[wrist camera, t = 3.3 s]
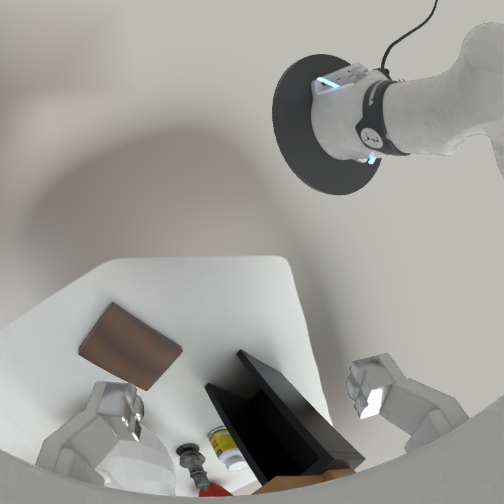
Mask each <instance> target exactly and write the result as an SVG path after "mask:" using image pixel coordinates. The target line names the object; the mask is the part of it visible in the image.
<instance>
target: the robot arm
mask: <svg viewBox="0 0 504 504" xmlns="http://www.w3.org/2000/svg"><path fill="white" fill-rule="evenodd" d="M437 1H438V0H436V2H435V5H434V8H433V10H432V12H431V14H430V15H429V17H428V18H427V19H426V20H425V21H424V22H423V23H422V24H420V25H419V26H418V27H416V28H414V29H413V30H411V31H410V32H408V33H407V34H405V35H404V36H402V37H401V38H399V39H398V40H396V41H395V42H393V43H392V44H391V45H390V46H389V47H388V49H387V50H386V52H385V54H384V57H383V59H382V63H381V68H378V69H373V70H372V71H368V70H367V69H366V68H365V67H364V66H363V65H362V64H360V63H355V64H352V65H349V66H347V67H344V68H341V69H339V70H336V71H334V72H331V73H329V74H326V75H324V76H322V77H319V78H317V79H315V80H313V81H312V82H311V90H312V95H313V102H312V107H311V123H312V128H313V132H314V134H315V137H316V139H317V141H318V143H319V144H320V146H321V147H322V148H323V150H324V151H325V152H326V153H327V154H329V155H330V156H332V157H333V158H336V159H339V160H349V159H352V160H355V161H357V162H359V163H364V162H366V161H367V160H368V159H370V160H369V162H368V163H369V164H373V162H374V161H375V159H376V158H387V157H390V156H391V155H394V156H403V155H404V156H407V155H410V154H411V153H414V154H425V155H436V156H450V155H453V154H454V153H456V152H457V151H458V149H459V148H460V147H461V145H462V144H463V141H464V139H465V137H468V136H472V135H486V136H488V137H490V139H491V143H492V146H493V150H494V153H495V157H496V161H497V165H498V168H499V170H500V172H501V174H502V176H503V178H504V24H502V23H494V22H493V23H492V22H491V23H484V24H481V25H479V26H477V27H475V28H473V29H472V30H471V31H470V32H469V33H468V34H467V36H466V37H465V39H464V41H463V44H462V47H461V52H460V55H459V57H458V59H457V61H456V63H455V64H454V65H453V66H452V67H451V68H450V69H448V70H447V71H445V72H443V73H442V74H439V75H437V76H433V77H429V78H424V79H417V80H411V81H404V79H403V82H401V81H400V80H399V82H397V81H392V80H391V78H390V76H389V70H388V69H384V64H385V61H386V58H387V56H388V54H389V52H390V49H391V48H392V47H393V46H394V45H395V44H397V43H398V42H400V41H401V40H402V39H404V38H405V37H407V36H408V35H410V34H411V33H413V32H414V31H416V30H417V29H419V28H420V27H422V26H423V25H424V24H425V23H426V22H427V21H428V20H429V19H430V18H431V16H432V15H433V13H434V11H435V8H436V5H437ZM322 84H323V85H322ZM350 371H351V373H350V375H349V376H348V377H347V381H346V386H347V392H348V395H349V397H350V398H351V399H353V400H354V401H356V402H355V405H354V407H355V409H356V411H357V413H358V416H359V418H360V419H361V418H365V417H368V416H372V415H375V414H378V413H379V414H380V415H381V416H382V417H384V418H385V419H387V420H389V421H390V422H391V423H393V424H394V425H396V426H397V427H399V428H400V429H402V430H403V431H405V432H406V433H408V434H409V435H411V438H410V439H409V441H408V442H407V443H406V445H405V450H406V452H407V454H404V455H402V456H400V457H398V458H395V459H393V460H390V461H388V462H386V463H383V464H380V465H378V466H375V467H372V468H369V469H367V470H364V471H361V472H358V473H355V474H351V475H348V476H345V477H341V478H338V479H334V480H331V481H327V482H323V483H319V484H314V485H310V486H305V487H300V488H295V489H290V490H284V491H277V492H270V493H262V494H253V495H243V496H225V497H183V496H167V495H156V494H147V493H139V492H132V491H126V490H120V489H115V488H110V487H105V486H104V483H105V479H104V478H103V477H102V476H101V475H100V474H99V473H98V472H96V471H95V469H96V468H97V467H98V465H99V464H100V463H101V462H102V461H103V460H104V459H105V457H106V456H107V455H108V454H109V453H110V452H111V451H112V449H113V448H114V447H115V446H116V445H117V444H118V443H119V440H124V441H136V442H139V440H140V434H141V429H142V428H141V427H140V425H139V423H140V422H141V421H142V420H143V417H144V405H143V401H142V399H141V397H140V396H138V395H137V394H136V391H137V389H136V387H135V385H134V384H131V383H118V382H105V381H97V382H96V383H95V385H94V387H93V390H92V393H91V395H90V398H89V400H88V403H87V406H86V409H85V411H81V412H80V413H78V414H77V415H76V416H75V417H73V418H72V419H71V420H69V421H68V422H67V423H66V424H64V425H63V426H62V427H61V428H59V429H58V430H57V431H55V432H54V433H53V434H51V435H50V436H49V437H48V438H46V439H45V440H44V441H43V444H42V447H41V450H40V453H39V455H38V458H37V461H36V464H35V465H34V464H31V463H29V462H26V461H24V460H22V459H20V458H17V457H15V456H13V455H11V454H9V453H7V452H5V451H3V450H1V449H0V504H504V395H503V396H501V397H500V398H499V399H497V400H496V401H495V402H493V403H492V404H491V405H489V406H488V407H487V408H485V409H484V410H482V411H481V412H479V413H478V414H476V415H475V416H474V417H472V418H471V419H470V418H469V417H468V415H467V414H466V413H465V411H464V410H463V408H462V407H461V406H460V404H459V403H458V402H457V400H456V399H455V398H453V397H451V396H449V395H446V394H444V393H442V392H440V391H437V390H435V389H433V388H430V387H428V386H426V385H424V384H421V383H419V382H417V381H415V380H413V379H410V378H409V379H406V377H405V376H404V374H403V373H402V372H401V370H400V369H399V367H398V366H397V365H396V363H395V362H394V360H393V359H392V358H391V356H390V355H389V354H388V353H384V354H381V355H377V356H373V357H369V358H365V359H361V360H357V361H354V362H352V363H351V365H350Z"/></svg>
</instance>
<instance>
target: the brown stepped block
mask: <svg viewBox="0 0 504 504" xmlns="http://www.w3.org/2000/svg"><path fill="white" fill-rule="evenodd" d="M355 473H356V472H355V471H354V470H353V469H352V468H348V469H335V470H327V471H326V472H324V473H323V474H322V475H311V476H276V477H275V478H273V479H272V480H271V481H269V482H268V483H267V484H265V485H264V486H262V487H261V488H260V489H258V490H257V491H255V492H254V493H252V494H251V495H253V494H262V493H270V492H277V491H284V490H290V489H295V488H300V487H305V486H310V485H314V484H319V483H323V482H327V481H331V480H334V479H338V478H341V477H345V476H348V475H351V474H355Z"/></svg>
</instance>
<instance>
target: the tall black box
mask: <svg viewBox="0 0 504 504" xmlns="http://www.w3.org/2000/svg"><path fill="white" fill-rule="evenodd" d="M237 356H238V357H239V359H240V360H241V361H242V363H243V364H244V365H245V367H246V368H247V369H248V371H249V372H250V373H251V375H252V376H253V377H254V379H255V380H256V381H257V383H258V384H259V385H260V386H261V388H262V389H261V390H260V391H259V392H258V393H257V394H256V395H255V396H254V397H253V398H252V399H251V400H250V401H248V400H246V399H243V398H241V397H239V396H236V395H234V394H231V393H229V392H227V391H224V390H222V389H220V388H218V387H216V386H213V385H211V384H209V383H208V384H207V385H206V386H205V389H206V391H207V393H208V395H209V397H210V399H211V401H212V403H213V405H214V407H215V409H216V410H217V412H218V414H219V416H220V418H221V420H222V421H223V423H224V425H225V427H226V428H227V430H228V432H229V434H230V435H231V437H232V439H233V441H234V442H235V444H236V446H237V447H238V449H239V451H240V452H241V454H242V455H243V457H244V459H245V460H246V462H247V463H248V465H249V467H250V468H251V470H252V471H253V473H254V474H255V476H256V477H257V479H258V480H259V482H260V483H261V485H262V486H264V485H265V484H267V483H268V482H269V481H271V480H272V479H273V478H275V477H276V476H311V475H322V474H323V473H324V472H326V471H327V470H335V469H348V468H352V469H353V470H354V469H355V468H357V467H358V466H359V465H360V464H361V463H362V462H363V461H364V460H365V458H364V457H363V456H362V455H361V454H360V453H359V452H358V451H357V450H356V449H355V448H353V446H352V445H351V444H349V443H348V442H347V441H346V440H345V439H344V438H343V437H342V436H341V435H340V434H339V433H338V432H337V431H336V430H335V429H334V428H333V427H332V426H331V425H330V424H329V423H328V422H327V421H326V420H325V419H324V418H323V417H322V416H321V415H320V414H319V413H318V412H317V411H316V410H315V409H314V408H313V406H312V405H311V404H310V403H309V402H308V401H307V400H306V399H305V398H304V397H303V396H302V395H301V394H300V393H299V392H298V391H297V390H296V389H295V388H294V386H293V385H292V384H291V383H290V382H289V381H288V380H287V379H286V378H285V377H284V376H283V375H282V373H280V372H278V371H276V370H275V369H273V368H271V367H269V366H268V365H266V364H264V363H263V362H261V361H259V360H257V359H256V358H254V357H252V356H251V355H249V354H247V353H246V352H244V351H243V350H241V349H240V350H239V351H238V353H237Z"/></svg>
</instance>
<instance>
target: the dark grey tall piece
mask: <svg viewBox="0 0 504 504" xmlns="http://www.w3.org/2000/svg"><path fill="white" fill-rule="evenodd" d="M198 450H199V447H198V446H197V445H196V444H185V445H182V446H180V447H179V448H178V449H177V451H176V452H177V454H178V455H180V466H182V467H184V468H188V469H189V471H190V474H191V475H190V477H191V478H193V480H194V482H195V484H196V486H197V487H198V488H199V489H204V491H207V489H206V488H208V487H209V486H210V482H209V480H208V478H207V476H206V474H207V472H206V471H204V469H203V467H202V464H203V463H204V462H205V457H204V456H203V455H202V454H201V453H200V452H198Z"/></svg>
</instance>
